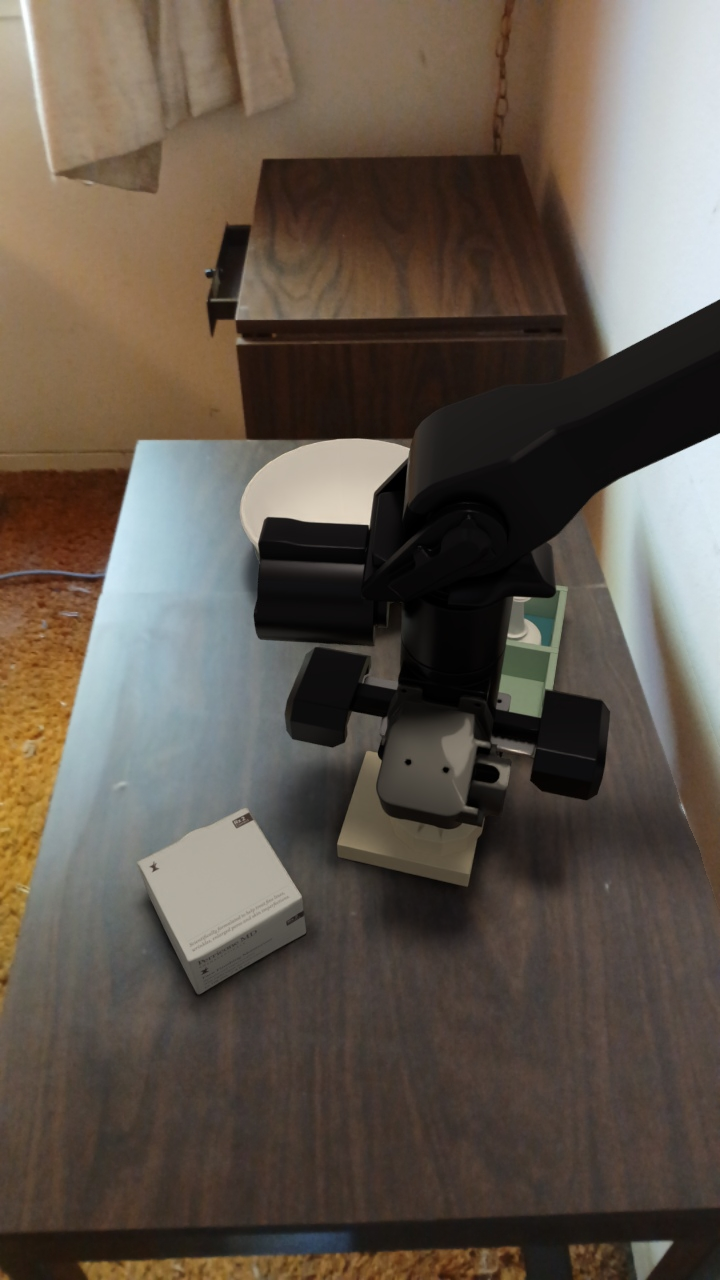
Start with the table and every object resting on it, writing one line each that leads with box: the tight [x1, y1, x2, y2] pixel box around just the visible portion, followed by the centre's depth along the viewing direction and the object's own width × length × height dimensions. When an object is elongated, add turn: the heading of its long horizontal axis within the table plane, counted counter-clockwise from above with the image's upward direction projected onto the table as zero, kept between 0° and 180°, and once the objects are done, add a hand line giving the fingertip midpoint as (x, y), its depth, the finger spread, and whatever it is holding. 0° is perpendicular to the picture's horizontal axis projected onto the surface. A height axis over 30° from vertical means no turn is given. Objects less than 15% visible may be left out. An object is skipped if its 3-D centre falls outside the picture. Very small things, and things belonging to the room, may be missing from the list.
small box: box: [136, 807, 307, 995], centre depth 56 cm, size 8×8×5 cm
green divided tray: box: [499, 584, 569, 759], centre depth 70 cm, size 15×8×4 cm, turn 165°
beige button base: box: [336, 750, 486, 888], centre depth 61 cm, size 9×8×4 cm
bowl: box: [239, 438, 410, 604], centre depth 77 cm, size 19×19×8 cm
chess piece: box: [507, 597, 541, 645], centre depth 70 cm, size 5×5×10 cm
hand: (438, 796), depth 59 cm, fingers closed, pressing on start button
